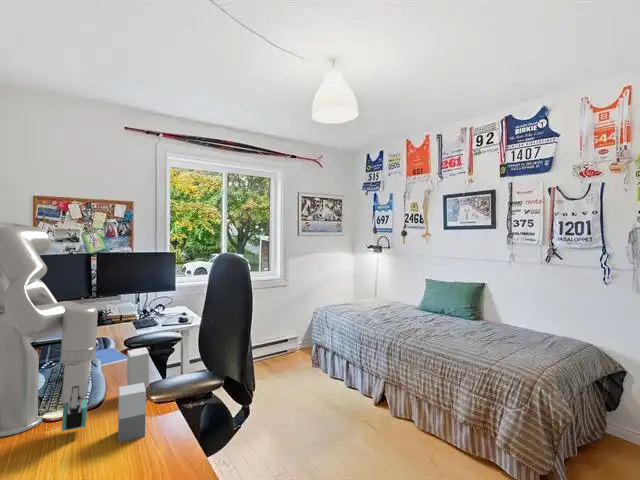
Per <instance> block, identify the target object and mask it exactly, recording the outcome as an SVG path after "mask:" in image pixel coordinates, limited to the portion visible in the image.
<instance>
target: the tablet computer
mask: <svg viewBox="0 0 640 480" xmlns="http://www.w3.org/2000/svg"><path fill="white" fill-rule="evenodd" d="M95 358H97V359H99V360H100V361H101V364H102V366H101V367H105V366H110V365H114V364H117V363H122V362H125V361H127V355H126V354H124V353H122V352H121V351H119V350H117V349H116V348H114V347H110V348H104V349H100V350H96V353H95Z"/></svg>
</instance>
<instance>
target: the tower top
mask: <svg viewBox="0 0 640 480" xmlns="http://www.w3.org/2000/svg"><path fill="white" fill-rule="evenodd" d="M146 403H147V402H146V389H145V385H144V383H139V384H133V385H128V386H127V385H122V386H119V387H118V410H119V419H124V418H128V417H133V416H137V415H142V414H145V415H146V409H147V408H146Z"/></svg>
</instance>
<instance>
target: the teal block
mask: <svg viewBox="0 0 640 480" xmlns="http://www.w3.org/2000/svg"><path fill="white" fill-rule="evenodd" d="M68 402H69V401H68ZM68 402H67V403H65V404H63V410H62V420H61V432H64V431H65V432H66V431H70V430H75V429H79V428H86V424H87V413H88V399H84V400H83V401H82V404H81V411H82V424H81V427H77V428H72V429H66V421H67V413H68V404H69V403H68ZM77 405H79V402H78V403H77Z"/></svg>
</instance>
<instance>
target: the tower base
mask: <svg viewBox="0 0 640 480" xmlns="http://www.w3.org/2000/svg"><path fill="white" fill-rule="evenodd" d="M117 417H118V423H117V426H118V427H117V436H118V439H117V440H118V444H120V443H123V442H124V443H125V442H128V441H131V440H136V439H139V438H140V439H141V438H144V437H146V413H145V414H142V415H137V416H133V417H128V418H124V419H119V409H118V416H117Z"/></svg>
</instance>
